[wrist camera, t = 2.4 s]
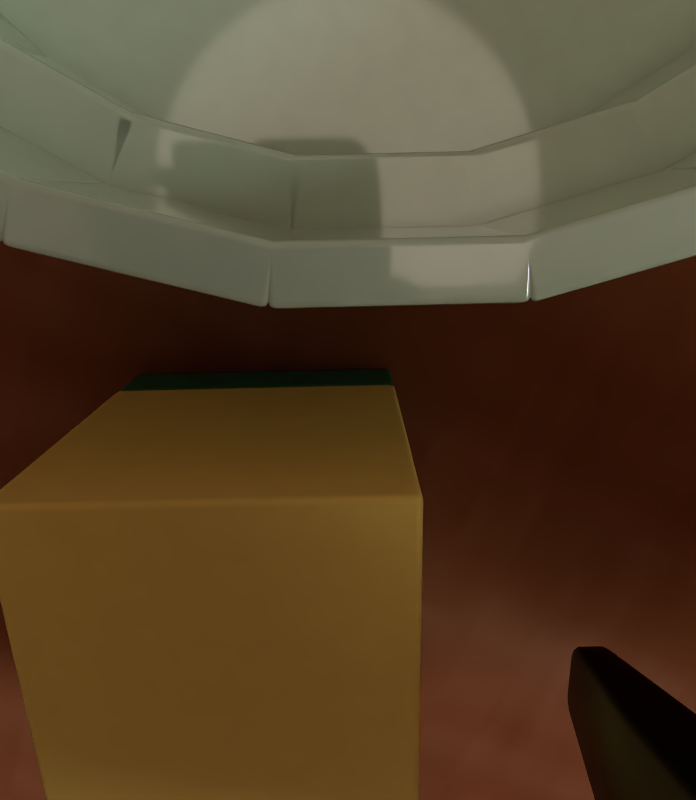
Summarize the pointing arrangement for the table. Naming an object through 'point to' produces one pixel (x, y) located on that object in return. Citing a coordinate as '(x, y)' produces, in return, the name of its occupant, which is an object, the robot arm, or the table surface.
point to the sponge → (222, 592)
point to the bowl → (351, 144)
